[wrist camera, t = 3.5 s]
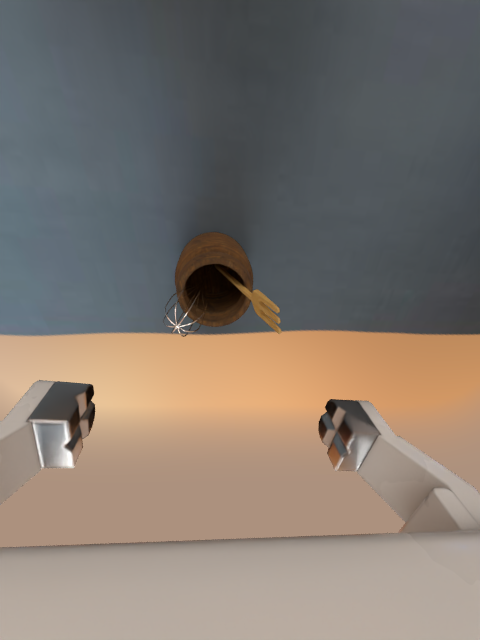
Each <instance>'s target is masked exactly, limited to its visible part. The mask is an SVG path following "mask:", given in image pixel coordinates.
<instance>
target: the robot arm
mask: <svg viewBox="0 0 480 640" xmlns="http://www.w3.org/2000/svg"><path fill="white" fill-rule="evenodd" d="M93 395H94V390H93V385H91V384H81V383H70V382H59V381H58V382H54V381H42V380H39V381H37V382H35V383H34V384H33V385H32V386H31V387H30V389H29V390H28V391H27V392H26V393H25V395H24V396H23V397H22V399H20V401H19V402H18V403H17V404H16V406H15V407H14V408H13V409H12V410H11V411H10V413H9V414H8V415H7V416H6V417H5V419H4V420H3V421H0V505H1V504H2V503H3V502H4V501H5V500H6V499H7V498H9V497H10V496H11V495H12V494H13V493H15V492H16V491H17V490H18V489H19V488H20V487H22V486H23V485H24V484H25V483H26V482H27V481H29V480H30V479H31V478H32V477H33V476H35V475H36V474H37V473H38V472H39V471H40V470H41V468H73V467H74V466H75V464H76V462H77V459H78V457H79V455H80V453H81V450H82V448H83V443H82V439H84V438H85V437H86V436H88V435H89V433H90V430H91V428H92V425H93V421H94V416H95V404H94V403H92V401H91V399H92V397H93ZM325 408H326V410H327V412H326V413H325V414H324V415H322V416H321V418H320V421H319V435H320V438H321V440H322V442H323V443H324V444H325V445H326V446H327V447H328V448H329V449H328V452H327V454H328V456H329V458H330V460H331V462H332V465H333V467H334V469H335V471H357V473H358V474H359V475H360V476H361V477H362V478H363V479H364V480H365V481H366V482H367V483H368V484H369V485H370V486H371V487H372V489H373V490H374V491H375V492H376V493H377V494H378V495H379V496H380V497H381V498H382V499H383V500H384V501H385V502H386V503H387V504H388V505H389V506H390V507H391V508H392V509H393V510H394V511H395V512H396V513H397V514H398V515H399V516H400V517H401V518H402V519H403V520H404V521H405V522H406V523H405V524H404V526H403V527H402V528H401V529H400V531H399V532H398V533H383V534H355V535H328V536H301V537H300V536H299V537H272V538H247V539H218V540H193V541H168V542H167V541H166V542H138V543H111V544H84V545H58V546H30V547H2V548H0V640H480V493H479V492H478V491H477V490H476V489H475V488H474V486H472V485H470V484H469V483H468V482H466V481H465V480H463V479H462V478H460V477H459V476H457V475H456V474H454V473H453V472H452V471H450V470H449V469H447V468H446V467H444V466H443V465H441V464H440V463H438V462H437V461H435V460H434V459H432V458H431V457H429V456H428V455H427V454H425V453H424V452H422V451H421V450H419V449H418V448H416V447H415V446H413V445H412V444H410V443H409V442H407V441H406V440H404V439H403V438H402V437H400V436H395V434H394V433H393V431H392V430H391V429H390V427H389V426H388V425H387V423H386V422H385V421H384V419H383V418H382V417H381V415H380V414H379V413H378V411H377V410H376V409H375V407H374V406H373V405H372V403H370V402H369V401H357V400H356V401H353V400H335V399H331V400H329V401H328V402H327V404H326V406H325Z"/></svg>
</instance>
